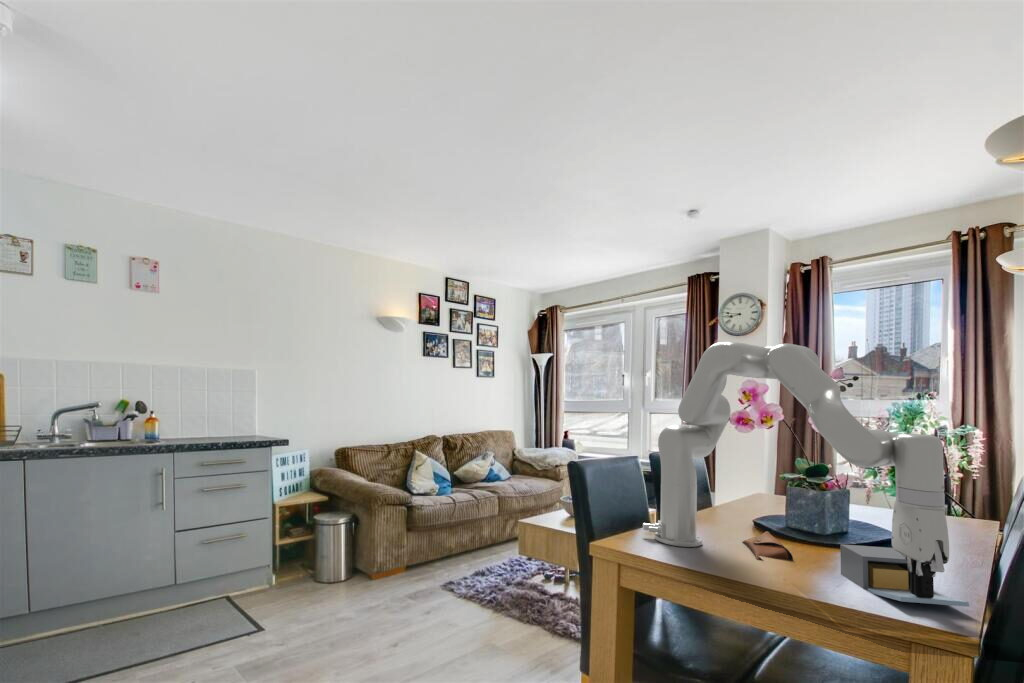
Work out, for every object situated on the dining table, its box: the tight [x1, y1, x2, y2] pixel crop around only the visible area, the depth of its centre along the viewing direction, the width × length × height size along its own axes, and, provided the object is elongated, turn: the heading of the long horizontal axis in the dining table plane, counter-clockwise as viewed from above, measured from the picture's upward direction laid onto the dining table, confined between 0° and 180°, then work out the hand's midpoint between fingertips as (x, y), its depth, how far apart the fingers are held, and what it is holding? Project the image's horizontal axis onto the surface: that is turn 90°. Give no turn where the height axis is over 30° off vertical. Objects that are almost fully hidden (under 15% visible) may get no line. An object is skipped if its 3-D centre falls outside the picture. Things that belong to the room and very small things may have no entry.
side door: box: [867, 587, 970, 608], centre depth 104 cm, size 12×1×11 cm
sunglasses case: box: [741, 530, 794, 562], centre depth 138 cm, size 18×7×7 cm
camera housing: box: [839, 543, 910, 591], centre depth 115 cm, size 15×9×7 cm, turn 84°
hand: (922, 595), depth 101 cm, fingers closed
